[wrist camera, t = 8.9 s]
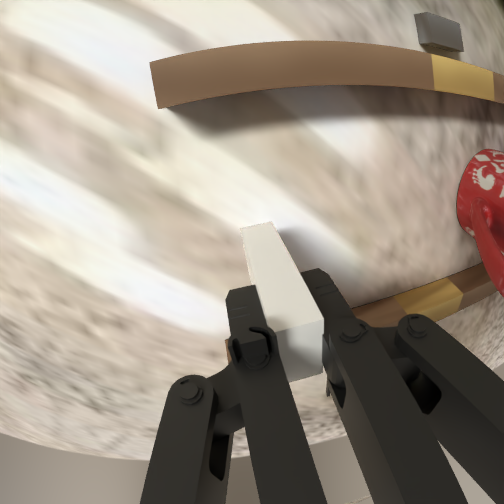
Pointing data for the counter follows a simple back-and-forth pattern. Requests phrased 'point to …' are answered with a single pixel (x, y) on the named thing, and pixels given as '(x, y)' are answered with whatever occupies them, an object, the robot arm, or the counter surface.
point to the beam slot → (346, 73)
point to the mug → (485, 210)
